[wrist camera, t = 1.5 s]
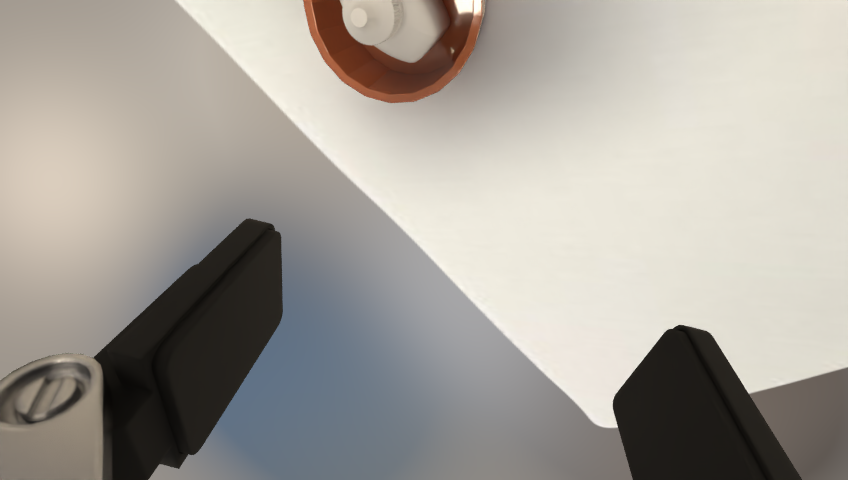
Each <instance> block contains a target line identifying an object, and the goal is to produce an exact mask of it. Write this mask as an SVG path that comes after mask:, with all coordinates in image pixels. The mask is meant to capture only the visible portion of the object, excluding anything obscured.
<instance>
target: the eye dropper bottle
mask: <svg viewBox="0 0 848 480" xmlns="http://www.w3.org/2000/svg"><path fill="white" fill-rule="evenodd" d="M340 2H341V5H342V7H343V9H342V11H343V12H342V14H343V15H342V16H343V20H344V23H345V26H346V29H348V32H349V34H351V36H353V38H355V39H356V40H358V42H360V43H363V44H366V45H371V46H372V45H374V46H375V47H376V48H378V49H379V50H381V51H382V52H384V53H386V54H388V55H390V56H391V57H394V58H396V59H399V60H401V61H404V62H408V63H415V62H417V61H418V60H420V59H421V58H422V57H423V56H424V55H425V54H426V53H427V52H428V51H429V50H430V49H431V48H432V47H433V46H434V45H435V44H436V43H437V42H438V41H439V40H440V38H441V37H442V36H443V35H444V33H445V32H446V31H447V29H448V27H449V25H450V18H449V15H448V12H447V10H446V7H445V5H444V3H443V1H442V0H340Z"/></svg>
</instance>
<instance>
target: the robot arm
mask: <svg viewBox="0 0 848 480" xmlns="http://www.w3.org/2000/svg"><path fill="white" fill-rule="evenodd" d="M282 312H283V305H282V258H281V235H280V233H279V232H277V231H275V228H274V226H273V225H272V224H270V223H266V222H261V221H257V220H253V219H246V220H244V221H243V222H242V223H241V224H240V225H239V226H238V227H237V228H236V229H235V230H234V231H233V232H232V233H230V234H229V235H228V236H227V237H226V238H225V239H224V240H223V241H222V242H221V243H220V244H219V245H218V246H217V247H216V248H215V249H213V250H212V251H211V252H210V253H209V254H208V255H207V256H206V257H205V258H204V259H203V260H202V261H201V262H200V263H199V264H197V265H194V266H192V267H191V268H190V269H188V270H187V271H186V272H185V273H184V274H183V275H182V276H181V277H179V279H177V280H176V281H175V282H174V283H173V284H172V285H171V286H170V287H169V288H168V289H167V290H166V291H164V292H163V293H162V294H161V295H160V296H159V297H158V298H157V299H156V300H155V301H154V302H153V303H152V304H151V305H150V306H148V307H147V308H146V309H145V310H144V311H143V312H142V313H141V314H140V315H139V316H138V317H137V318H135V319H134V320H133V321H132V322H131V323H130V324H129V325H128V326H127V327H126V328H125V329H124V330H123V331H122V332H120V333H119V334H118V335H117V336H116V337H115V338H114V339H113V340H112V341H111V342H110V343H109V344H108V345H106V346H105V347H104V348H103V349H102V350H101V351H100V352H99V353H98V354H97V355H96V356H95V357H94V358H92V357H89V356H86V355H83V354H73V353H65V354H58V355H52V356H48V357H45V358H41V359H38V360H35V361H32V362H30V363H28V364H26V365H24V366H22V367H20V368H18V369H16V370H14V371H13V372H11V373H10V374H9V375H7V376H6V377H4V378H3V379H2V380H0V480H148V479H149V478H150V477H151V475H152V474H153V472H154V471H155V469H156V468H157V466H158V465H159V464H163V465H167V466H171V467H174V468H178V469H179V468H180V466H181V465H182V463H183V462H184V460H185V459H186V457H187V455H188V454H190V455H194V454H196V453H197V452H198V451H199V450H200V448H201V447H202V446H203V444H204V442H205V441H206V439H207V437H208V436H209V435H210V433H211V431H212V430H213V428H214V427H215V425H216V424H217V422H218V420H219V418H220V417H221V416H222V414H223V412H224V411H225V409H226V408H227V406H228V405H229V403H230V401H231V400H232V398H233V397H234V395H235V393H236V392H237V390H238V389H239V387H240V385H241V384H242V382H243V381H244V379H245V378H246V376H247V374H248V373H249V371H250V370H251V368H252V367H253V365H254V363H255V362H256V360H257V359H258V357H259V355H260V354H261V352H262V351H263V349H264V348H265V346H266V344H267V343H268V341H269V340H270V338H271V336H272V335H273V333H274V332H275V330H276V328H277V327H278V325H279V323H280V321H281V318H282ZM613 410H614V414H615V418H616V421H617V425H618V428H619V432H620V435H621V439H622V443H623V446H624V450H625V453H626V457H627V460H628V463H629V467H630V471H631V474H632V478H633V480H802V479H801V477H800V476H799V474H798V472H797V471H796V469H795V468H794V466H793V464H792V463H791V461H790V460H789V458H788V457H787V455H786V453H785V452H784V450H783V448H782V447H781V445H780V444H779V442H778V440H777V439H776V437H775V436H774V434H773V432H772V431H771V429H770V428H769V426H768V424H767V423H766V421H765V419H764V418H763V416H762V415H761V413H760V411H759V410H758V408H757V407H756V405H755V403H754V402H753V400H752V399H751V397H750V395H749V394H748V392H747V391H746V389H745V387H744V386H743V384H742V383H741V381H740V379H739V378H738V376H737V375H736V373H735V371H734V370H733V368H732V367H731V365H730V363H729V362H728V360H727V359H726V357H725V355H724V354H723V352H722V351H721V349H720V347H719V346H718V344H717V343H716V341H715V339H714V338H713V336H712V335H711V334H710V333H709V332H707V331H704V330H700V329H696V328H692V327H688V326H684V325H678V326H676V327H674V328H673V329H669V330H667V331H666V332H665V333H664V334H663V335H662V337H661V338H660V339H659V340H658V342H657V343H656V344H655V345H654V347H653V348H652V349H651V350H650V352H649V353H648V354H647V356H646V357H645V358H644V359H643V361H642V362H641V363H640V364H639V366H638V367H637V368H636V369H635V371H634V372H633V373H632V374H631V376H630V377H629V378H628V380H627V381H626V382H625V383H624V385H623V386H622V387H621V388H620V390H619V391H618V392H617V393H616V395H615V397H614V400H613Z"/></svg>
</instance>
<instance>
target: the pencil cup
mask: <svg viewBox="0 0 848 480" xmlns="http://www.w3.org/2000/svg"><path fill="white" fill-rule="evenodd" d="M303 1H304V7H305V12H306V16H307V21H308V25H309V30H310V33H311V36H312V38H313V40H314V42H315V44H316V46H317V48H318V50H319V52H320V54H321V56H322V58H323V59H324V60H325V62H326V63H327V65H328V66H329V67H330V68H331V69H332V70H333V71H334V73H335V74H336V75H337V76H338V77H339V78H340V79H341V80H342V81H343V82H344V83H345V84H347V85H348V86H350V87H352V88H353V89H355V90H356V91H358V92H359V93H361V94H363V95H364V96H366V97H369V98H373V99H377V100H381V101H384V102H388V103H399V102H414V101H417V100H420V99H422V98H424V97H427V96H429V95H432V94H434V93H436V92H438V91H440V90H441V89H442V88H443V87H444V86H445V85H447V84H448V83H449V82H450V81H451V80H452V79H453V78H455V77H456V76H457V75H458V73H460V71H461V69H462V68H463V66H464V64H465V63H466V61H467V59H468V58H469V56H470V54H471V53H472V51H473V50H474V47H475V44H476V41H477V38H478V35H479V32H480V28H481V24H482V20H483V17H484V13H485V0H442V1H443V3H444V5H445V7H446V10H447V12H448V15H449V18H450V25H449V27H448V29H447V31H446V32H445V33H444V35H443V36H442V37H441V38H440V40H439V41H438V42H437V43H436V44H435V45H434V46H433V47H432V48H431V49H430V50H429V51H428V52H427V53H426V54H425V55H424V56H423V57H422V58H421V59H420V60H418V61H417V62H415V63H408V62H404V61H401V60H399V59H396V58H394V57H391V56H390V55H388V54H386V53H384V52H382V51H381V50H379V49H378V48H376V47H375V46H374V45H372V46H371V45H366V44H363V43H360V42H358V40H356V39H355V38H353V36H351V34H349V32H348V29H346V26H345V23H344V20H343V16H342V15H343V14H342V12H343V11H342V9H343V7H342V5H341V2H340V0H303Z"/></svg>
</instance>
